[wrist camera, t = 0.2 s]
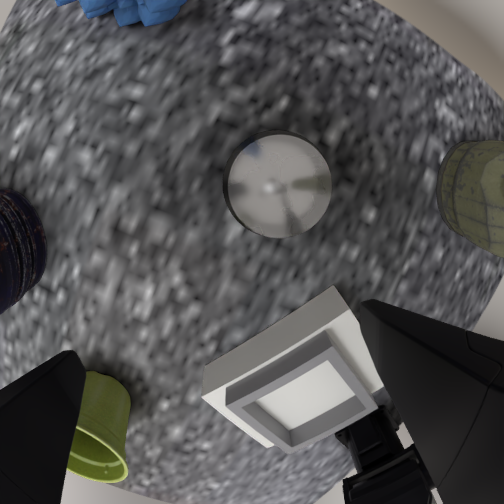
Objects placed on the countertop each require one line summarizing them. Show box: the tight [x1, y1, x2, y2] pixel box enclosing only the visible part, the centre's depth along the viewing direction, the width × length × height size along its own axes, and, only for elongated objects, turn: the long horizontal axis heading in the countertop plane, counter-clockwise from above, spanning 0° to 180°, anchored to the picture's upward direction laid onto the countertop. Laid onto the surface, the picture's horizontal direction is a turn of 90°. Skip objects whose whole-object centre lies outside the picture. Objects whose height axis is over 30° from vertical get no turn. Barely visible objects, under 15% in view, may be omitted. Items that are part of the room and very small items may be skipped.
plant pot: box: [67, 371, 131, 483], centre depth 23 cm, size 9×9×9 cm
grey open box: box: [201, 285, 384, 454], centre depth 23 cm, size 9×13×6 cm
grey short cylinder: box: [223, 130, 332, 238], centre depth 18 cm, size 6×6×7 cm
